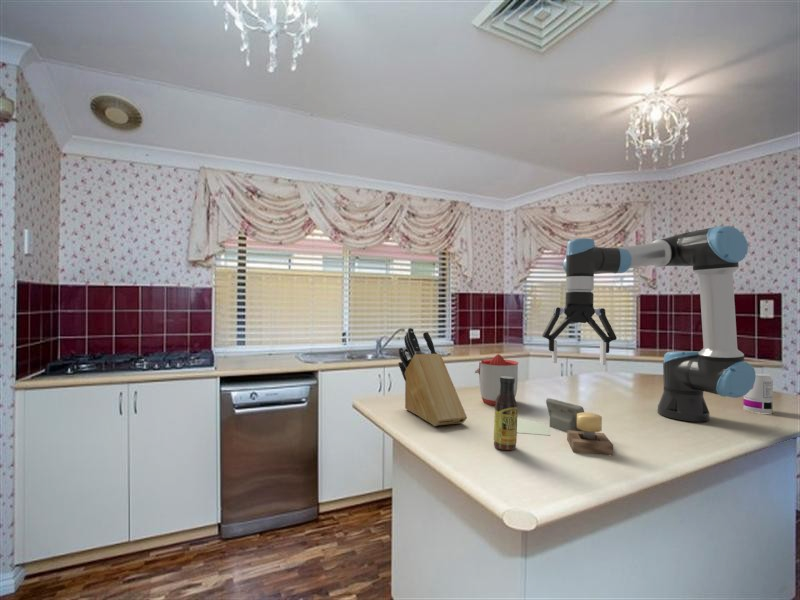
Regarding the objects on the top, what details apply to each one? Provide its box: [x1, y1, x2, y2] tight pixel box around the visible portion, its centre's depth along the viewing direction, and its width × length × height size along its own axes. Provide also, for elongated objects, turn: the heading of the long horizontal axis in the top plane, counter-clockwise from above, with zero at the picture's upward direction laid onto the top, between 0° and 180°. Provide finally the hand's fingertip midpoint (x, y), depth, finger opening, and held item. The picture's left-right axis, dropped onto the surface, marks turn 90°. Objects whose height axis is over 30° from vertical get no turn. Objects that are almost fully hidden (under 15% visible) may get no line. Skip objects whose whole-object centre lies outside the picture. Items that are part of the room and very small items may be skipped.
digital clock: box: [545, 397, 585, 433], centre depth 130 cm, size 14×8×9 cm, turn 19°
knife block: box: [397, 327, 468, 427], centre depth 146 cm, size 11×35×31 cm, turn 23°
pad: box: [517, 417, 551, 437], centre depth 133 cm, size 13×17×1 cm
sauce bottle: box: [493, 376, 518, 451], centre depth 113 cm, size 7×6×20 cm
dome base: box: [566, 430, 614, 457], centre depth 113 cm, size 10×10×3 cm
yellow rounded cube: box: [577, 412, 603, 439], centre depth 113 cm, size 6×6×6 cm
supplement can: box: [742, 372, 774, 413], centre depth 149 cm, size 8×8×15 cm
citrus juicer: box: [474, 353, 519, 407], centre depth 162 cm, size 16×17×20 cm
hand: (578, 363), depth 118 cm, fingers open, 13 cm apart
